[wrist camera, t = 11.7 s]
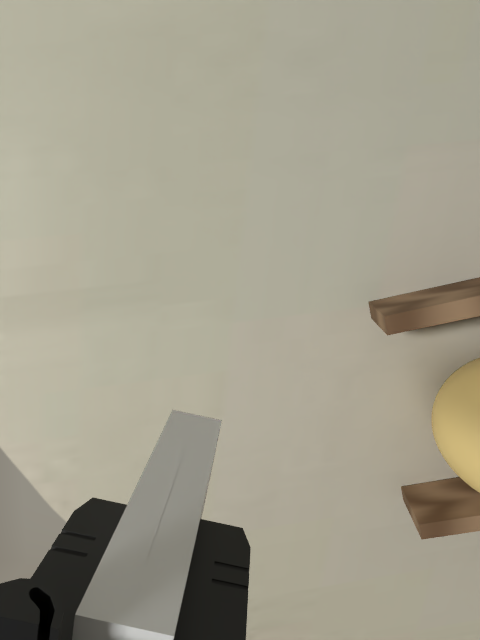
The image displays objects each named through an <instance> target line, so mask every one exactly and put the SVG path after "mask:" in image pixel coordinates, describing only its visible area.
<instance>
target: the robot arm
mask: <svg viewBox="0 0 480 640" xmlns="http://www.w3.org/2000/svg"><path fill="white" fill-rule="evenodd" d="M221 421H222V420H219V419H214V418H209V417H204V416H200V415H195V414H190V413H185V412H181V411H176V410H172V412H171V414H170V416H169V419H168V421H167V423H166V425H165V427H164V429H163V431H162V433H161V435H160V437H159V440H158V442H157V444H156V446H155V448H154V450H153V452H152V454H151V456H150V458H149V460H148V463H147V465H146V467H145V469H144V471H143V473H142V475H141V477H140V479H139V481H138V484H137V486H136V488H135V490H134V492H133V494H132V496H131V498H130V500H129V502H128V505H125V504H120V503H116V502H111V501H106V500H102V499H97V498H92V499H90V500H89V501H87V502H86V503H85V504H83V505H82V506H81V507H79V508H78V509H76V510H75V511H74V512H73V514H72V515H71V517H70V518H69V520H68V521H67V523H66V525H65V526H64V528H63V529H62V532H61V534H59V535H58V537H57V539H56V540H55V542H54V543H53V545H52V548H51V550H49V551H48V553H47V554H46V556H45V557H44V559H43V561H42V562H41V563H40V565H39V567H38V568H37V570H36V571H35V573H34V574H33V576H32V577H31V579H22V578H21V579H16V580H12V581H9V582H5V583H1V584H0V640H246V622H247V603H248V584H249V565H250V545H249V543H248V540H247V538H246V535H245V533H244V531H243V528H240V527H235V526H230V525H226V524H221V523H216V522H212V521H207V520H202V519H201V517H202V513H203V508H204V503H205V499H206V494H207V489H208V484H209V479H210V475H211V470H212V465H213V460H214V455H215V450H216V445H217V441H218V436H219V431H220V426H221Z"/></svg>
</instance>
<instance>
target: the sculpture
mask: <svg viewBox="0 0 480 640" xmlns="http://www.w3.org/2000/svg"><path fill="white" fill-rule="evenodd" d="M432 430H433V434H434V438H435V441H436V443H437V446H438V448H439V450H440V452H441V454H442V456H443V457H444V459H445V460H446V462H447V463H448V464H449V466H450V467H451V468H452V469H453V471H454V472H455V473H456V474H457V475H458V476H459V477H460V478H461V479H462V480H463V481H464V482H466V483H467V484H468V485H469V486H471V487H472V488H473V489H475V490H476V491H478V492H479V493H480V358H478V359H475V360H473V361H471V362H469V363H467V364H465V365H464V366H462V367H460V368H459V369H458V370H456V371H455V372H454V373H453V374H452V375H451V376H450V377H449V378H448V379H447V380H446V381H445V383H444V384H443V385H442V387H441V388H440V390H439V392H438V394H437V396H436V399H435V401H434V405H433V409H432Z"/></svg>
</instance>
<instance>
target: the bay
mask: <svg viewBox="0 0 480 640" xmlns="http://www.w3.org/2000/svg"><path fill="white" fill-rule="evenodd" d="M369 307H370V313H371V318H372V319H373V320H374V322H375V323H376V324H377V325H378V326H379V327H380V328H381V329H382V330H383V331H384V332H385V333H386V334H387V335H391V334H396V333H401V332H405V331H410V330H415V329H420V328H425V327H429V326H434V325H439V324H444V323H449V322H453V321H458V320H463V319H468V318H473V317H477V316H480V277H479V278H475V279H470V280H466V281H461V282H457V283H452V284H447V285H443V286H438V287H434V288H429V289H425V290H420V291H416V292H411V293H406V294H402V295H397V296H393V297H388V298H384V299H379V300H374V301H370V302H369ZM401 489H402V495H403V500H404V502H405V504H406V507H407V509H408V511H409V513H410V515H411V517H412V519H413V522H414V524H415V526H416V528H417V530H418V532H419V535H420V537H421V539H428V538H434V537H441V536H448V535H454V534H461V533H468V532H475V531H480V493H479V492H478V491H476V490H475V489H473V488H472V487H471V486H469V485H468V484H467V483H466V482H464V481H463V480H462V479H461V478H460V477H457V478H451V479H445V480H438V481H432V482H426V483H420V484H414V485H408V486H402V487H401Z"/></svg>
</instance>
